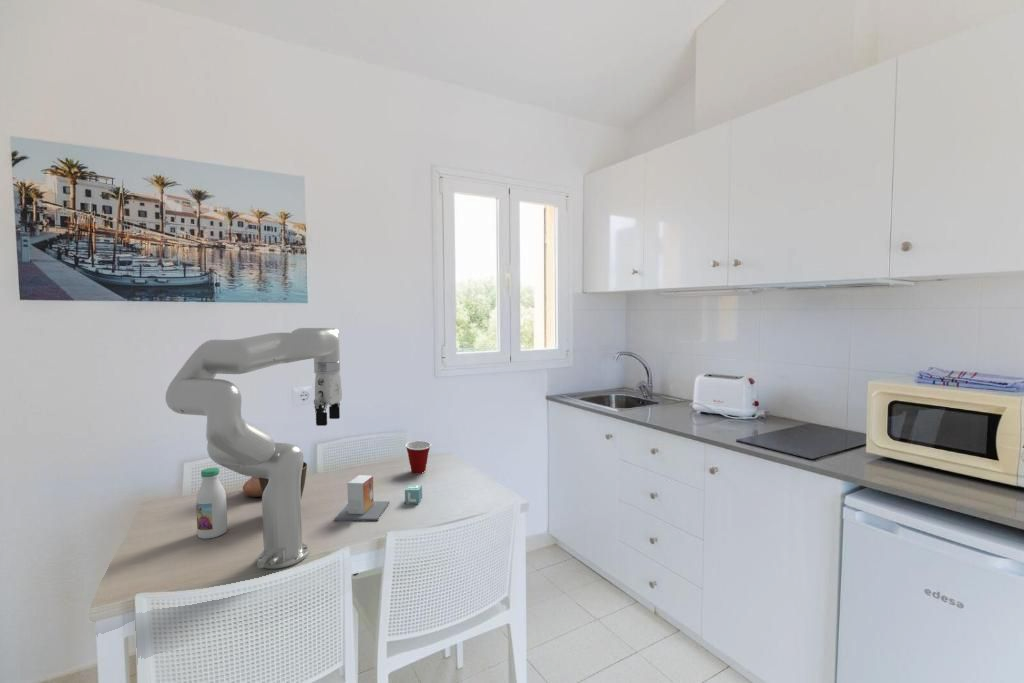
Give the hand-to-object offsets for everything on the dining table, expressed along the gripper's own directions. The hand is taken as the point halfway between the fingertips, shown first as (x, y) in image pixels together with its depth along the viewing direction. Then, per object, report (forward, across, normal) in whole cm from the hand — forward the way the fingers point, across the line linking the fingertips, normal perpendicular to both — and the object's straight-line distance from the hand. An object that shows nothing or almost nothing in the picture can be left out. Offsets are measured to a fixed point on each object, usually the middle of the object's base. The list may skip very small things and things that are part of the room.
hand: (328, 421), depth 147 cm
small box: (+32, +10, -6) cm, 35 cm away
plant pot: (+33, +8, +19) cm, 39 cm away
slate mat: (+33, +10, -7) cm, 35 cm away
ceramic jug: (+33, +28, +36) cm, 56 cm away
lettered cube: (+33, +20, -22) cm, 44 cm away
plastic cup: (+33, +51, -17) cm, 63 cm away
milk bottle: (+34, -6, +34) cm, 48 cm away
